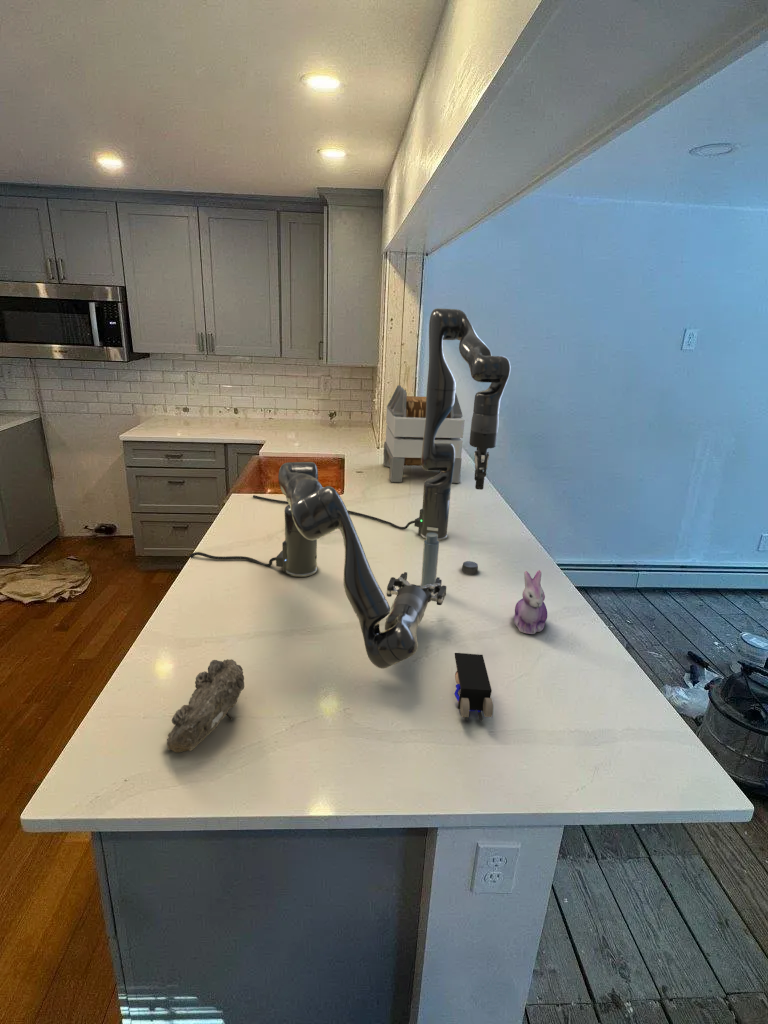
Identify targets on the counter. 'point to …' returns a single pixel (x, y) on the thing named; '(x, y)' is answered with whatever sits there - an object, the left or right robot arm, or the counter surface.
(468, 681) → the black toy cart
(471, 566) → the lid
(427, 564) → the grey cylinder
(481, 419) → the right robot arm
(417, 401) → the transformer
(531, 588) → the figurine
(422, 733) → the counter surface
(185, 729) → the fossil
